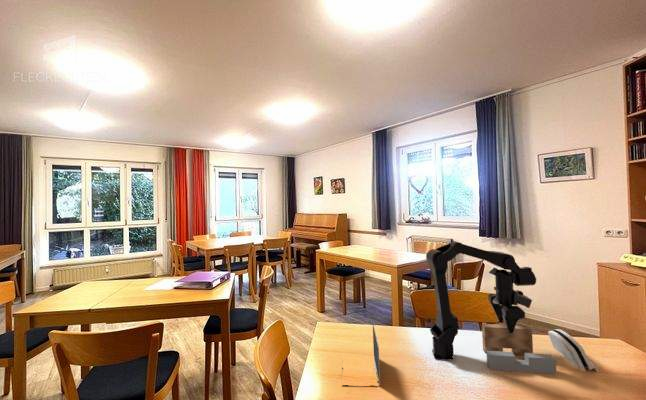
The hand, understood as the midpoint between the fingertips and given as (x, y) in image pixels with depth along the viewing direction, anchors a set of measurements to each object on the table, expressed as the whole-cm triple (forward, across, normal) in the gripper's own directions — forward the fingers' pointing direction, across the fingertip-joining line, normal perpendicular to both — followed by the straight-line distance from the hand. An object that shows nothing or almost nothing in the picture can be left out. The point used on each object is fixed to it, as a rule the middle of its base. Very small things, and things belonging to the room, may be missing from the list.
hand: (505, 327), depth 111 cm
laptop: (+10, -19, +54) cm, 58 cm away
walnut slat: (+10, 0, 0) cm, 10 cm away
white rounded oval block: (+10, -1, -20) cm, 22 cm away
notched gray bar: (+10, -11, 0) cm, 15 cm away
